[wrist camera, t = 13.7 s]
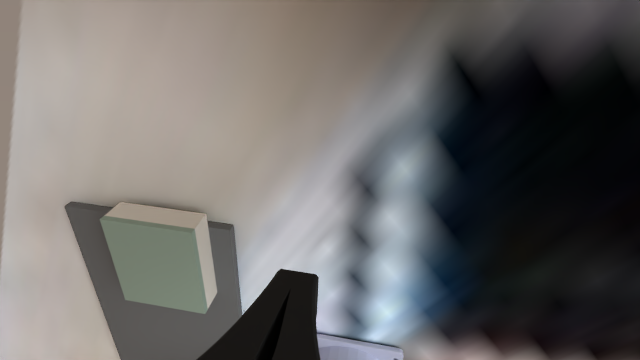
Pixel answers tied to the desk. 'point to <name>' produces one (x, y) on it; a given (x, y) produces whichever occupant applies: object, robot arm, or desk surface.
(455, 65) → the desk surface
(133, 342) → the mat
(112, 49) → the desk surface
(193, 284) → the tile
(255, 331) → the robot arm
